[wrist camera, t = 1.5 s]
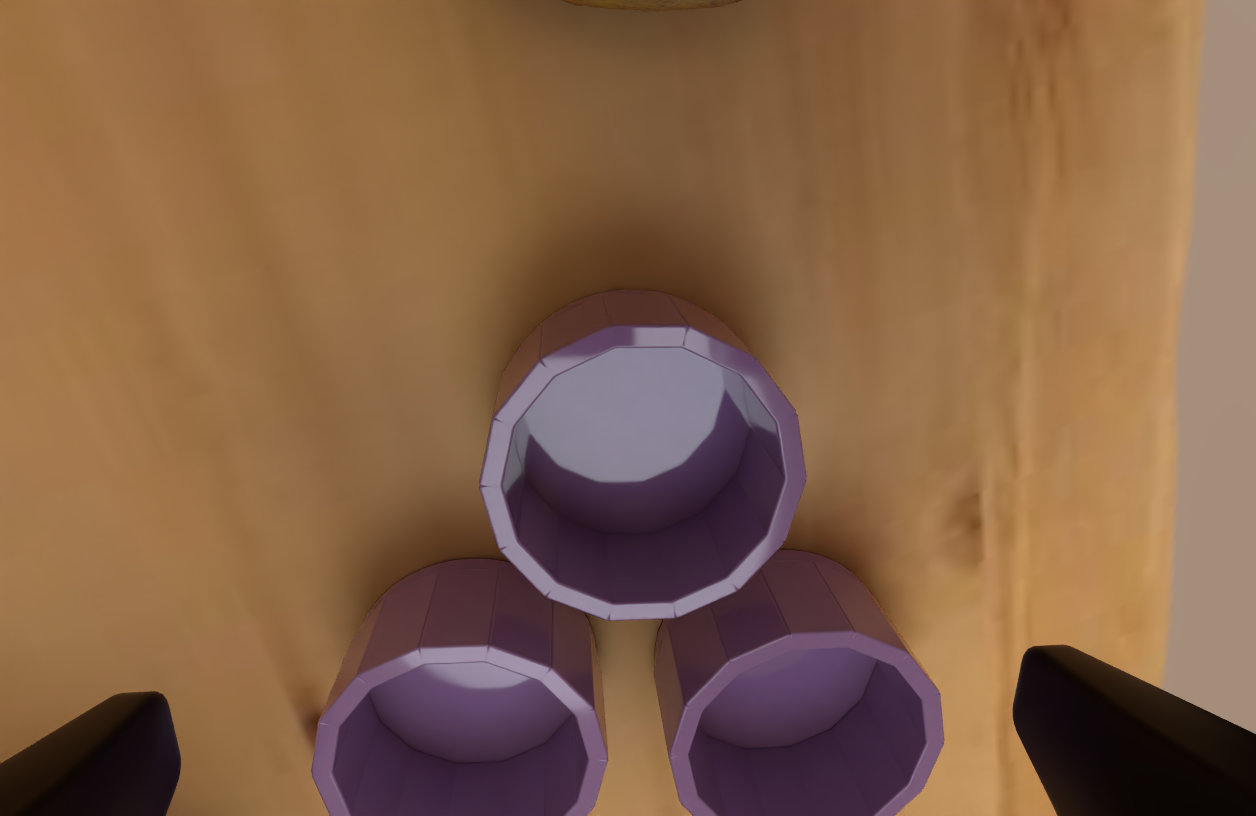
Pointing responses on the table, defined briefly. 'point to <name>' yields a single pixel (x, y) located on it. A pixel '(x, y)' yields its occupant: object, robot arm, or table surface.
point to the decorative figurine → (652, 4)
